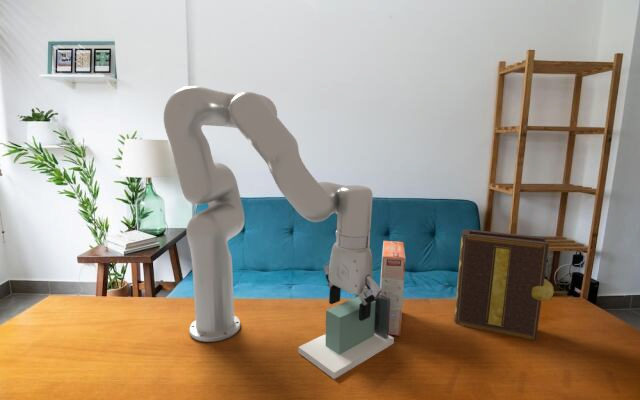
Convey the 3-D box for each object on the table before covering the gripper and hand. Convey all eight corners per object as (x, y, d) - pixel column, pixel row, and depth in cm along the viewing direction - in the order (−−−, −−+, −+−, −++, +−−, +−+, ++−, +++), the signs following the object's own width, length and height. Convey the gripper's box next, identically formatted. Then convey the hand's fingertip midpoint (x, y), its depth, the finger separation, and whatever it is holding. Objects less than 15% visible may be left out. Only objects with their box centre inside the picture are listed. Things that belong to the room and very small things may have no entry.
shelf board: (298, 352, 84) (298, 346, 83) (357, 323, 97) (357, 318, 96) (334, 379, 75) (334, 372, 74) (393, 343, 88) (393, 337, 87)
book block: (325, 345, 84) (326, 310, 82) (360, 328, 92) (361, 295, 90) (339, 354, 80) (339, 317, 79) (374, 335, 88) (375, 301, 87)
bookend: (354, 322, 94) (355, 286, 92) (357, 321, 95) (359, 285, 93) (385, 339, 87) (387, 300, 85) (388, 337, 88) (390, 299, 86)
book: (453, 326, 96) (461, 235, 91) (454, 312, 104) (462, 227, 99) (549, 345, 88) (563, 246, 83) (543, 328, 96) (555, 237, 91)
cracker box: (401, 337, 91) (406, 257, 87) (377, 334, 92) (381, 255, 88) (400, 310, 104) (404, 241, 100) (379, 308, 105) (382, 239, 101)
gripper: (315, 234, 85) (312, 301, 89) (371, 254, 73) (365, 331, 76) (338, 229, 90) (335, 293, 94) (394, 247, 78) (388, 320, 81)
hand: (348, 310), depth 85 cm, fingers open, 9 cm apart
